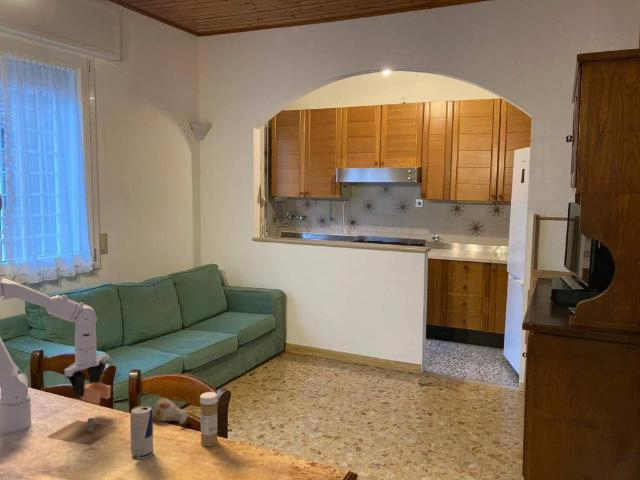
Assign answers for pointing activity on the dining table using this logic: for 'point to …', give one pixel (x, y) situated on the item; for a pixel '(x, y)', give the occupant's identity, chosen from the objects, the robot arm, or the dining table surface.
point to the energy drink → (141, 432)
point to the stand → (82, 432)
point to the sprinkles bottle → (208, 418)
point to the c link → (96, 392)
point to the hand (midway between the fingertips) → (86, 392)
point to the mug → (168, 411)
